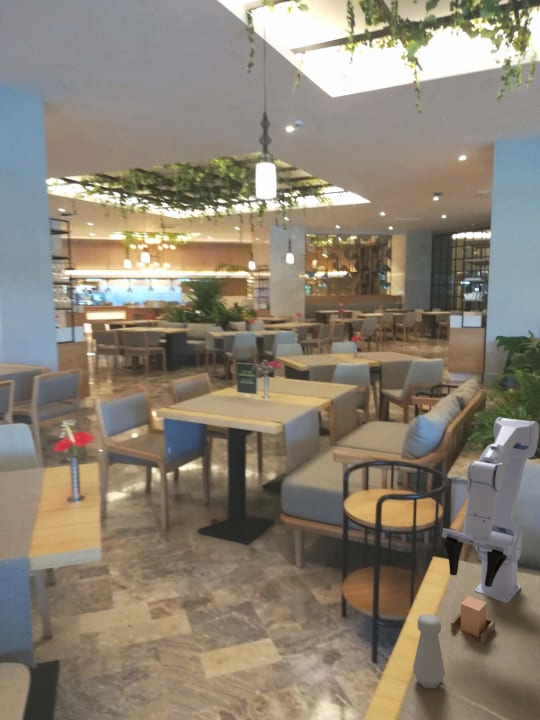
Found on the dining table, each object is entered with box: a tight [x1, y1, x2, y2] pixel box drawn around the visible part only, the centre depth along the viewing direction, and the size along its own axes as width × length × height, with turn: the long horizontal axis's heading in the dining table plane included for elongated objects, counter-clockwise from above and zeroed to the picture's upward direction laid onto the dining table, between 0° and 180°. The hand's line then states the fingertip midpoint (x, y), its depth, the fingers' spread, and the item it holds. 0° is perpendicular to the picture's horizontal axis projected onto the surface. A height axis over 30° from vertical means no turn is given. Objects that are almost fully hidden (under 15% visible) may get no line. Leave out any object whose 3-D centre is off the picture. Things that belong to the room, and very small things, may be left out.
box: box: [450, 611, 496, 644], centre depth 116 cm, size 6×7×2 cm
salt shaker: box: [412, 613, 446, 690], centre depth 101 cm, size 6×6×13 cm
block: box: [460, 595, 488, 637], centre depth 116 cm, size 4×4×6 cm
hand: (470, 580), depth 114 cm, fingers open, 7 cm apart
